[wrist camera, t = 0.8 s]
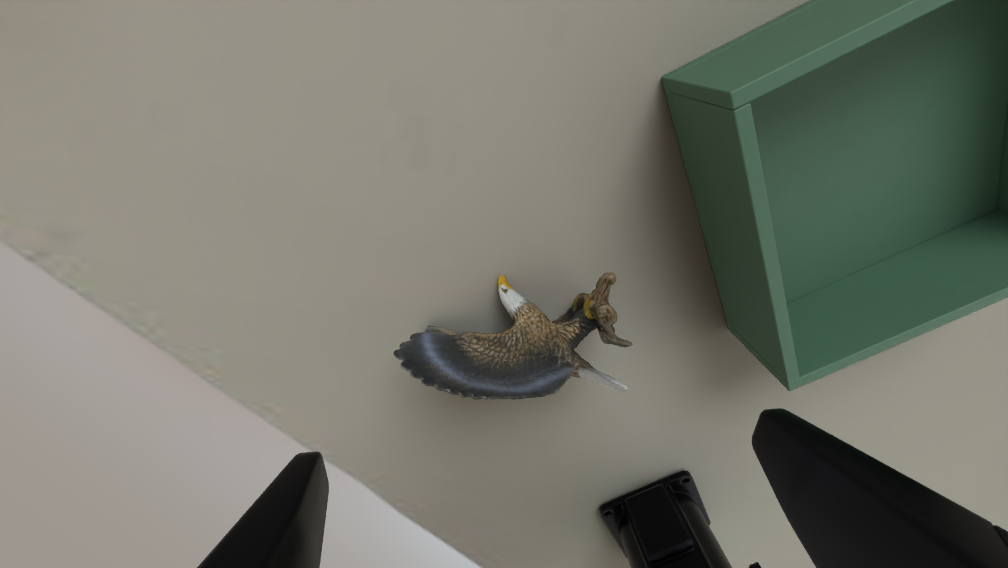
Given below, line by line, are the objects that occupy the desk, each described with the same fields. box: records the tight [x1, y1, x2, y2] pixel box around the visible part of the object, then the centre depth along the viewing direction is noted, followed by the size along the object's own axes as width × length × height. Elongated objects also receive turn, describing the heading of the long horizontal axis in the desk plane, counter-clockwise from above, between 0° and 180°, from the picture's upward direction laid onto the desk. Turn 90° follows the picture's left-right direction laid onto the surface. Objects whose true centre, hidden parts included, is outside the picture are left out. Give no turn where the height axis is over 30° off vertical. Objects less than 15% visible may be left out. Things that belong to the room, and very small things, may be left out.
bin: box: [662, 0, 1008, 391], centre depth 20 cm, size 14×15×5 cm
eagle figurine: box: [394, 272, 632, 399], centre depth 21 cm, size 8×7×9 cm
